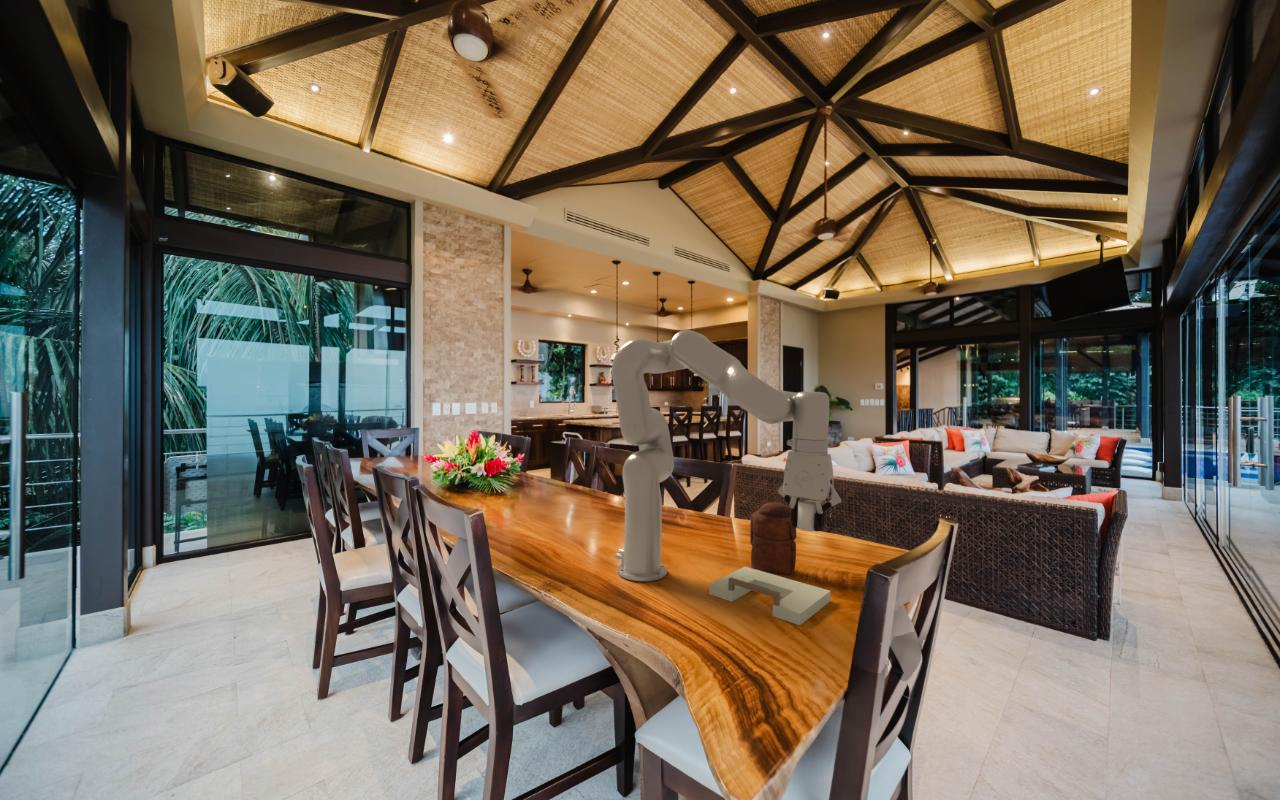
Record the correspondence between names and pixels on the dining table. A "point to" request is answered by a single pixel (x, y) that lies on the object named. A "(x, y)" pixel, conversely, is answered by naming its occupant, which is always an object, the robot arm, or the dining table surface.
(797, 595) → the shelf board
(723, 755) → the dining table surface
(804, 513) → the white cylinder
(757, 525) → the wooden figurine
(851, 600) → the dining table surface
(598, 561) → the dining table surface
